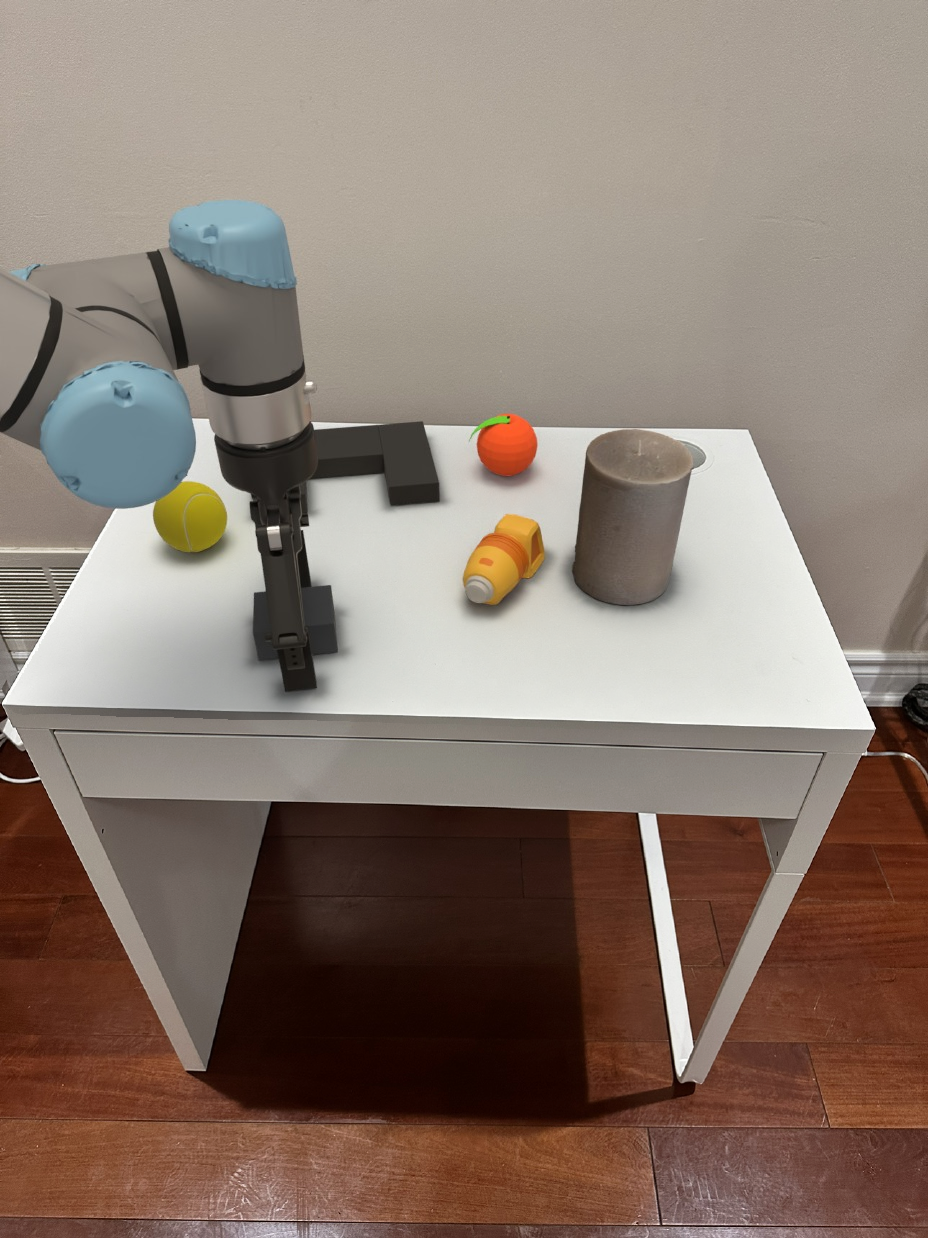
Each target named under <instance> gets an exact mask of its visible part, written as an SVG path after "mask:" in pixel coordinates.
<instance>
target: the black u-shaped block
mask: <svg viewBox="0 0 928 1238" xmlns="http://www.w3.org/2000/svg"><path fill="white" fill-rule="evenodd" d="M314 433H315V440H316V448H317V456H318V466H317V469H316V471H315V473H314V474H313V475H312V477H311V478H310V479H309V480H313V479H314V480H315V479H327V478H337V477H349V476H362V475H373V474H374V475H375V474H384V479H385V485H386V491H387V497H388V502H389V506H390V507H394V506H404V505H415V504H426V503H427V504H428V503H438V502H440V480H439V477H438V473H437V470H436V466H435V462H434V458H433V455H432V451H431V446H430V443H429V439H428V436H427V435H428V434H427V432H426V428H425V424H424V421H421V420H419V421H409V422H396V423H383V424H368V425H358V426H355V425H354V426H345V427H344V426H343V427H331V428H317V429H314ZM300 491H301V498H300V502H301V510H302V514H309V513H308V512H309V510H308V489H307V481H306V482H305V483H303V484H301V485H300Z"/></svg>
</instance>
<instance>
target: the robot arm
mask: <svg viewBox="0 0 928 1238" xmlns="http://www.w3.org/2000/svg"><path fill="white" fill-rule="evenodd" d="M168 233H169V238H168V240H167V242H168V247H162V248H157V249H156V250H152V251H146V252H137V253H132V254H131V253H130V254H123V255H122V254H121V255H115V256H107V257H100V258H99V257H98V258H91V259H84V260H76V261H69V262H62V263H61V262H60V263H53V264H45V263H34V264H30V265H29V266H27V267H25V268H20V269H16V270H11V271H8V270H6V269H4V268H2V267H1V266H0V434H3V435H5V436H7V437H9V438H11V439H13V440H15V441H17V442H21V443H23V444H25V445H27V446H30V447H32V448H34V449H35V450H39V451H41V454H42V455H43V456H44V457H45V460H46V463H47V465H48V466H49V468H50V469H51V471H52V473H53V474H54V475H55V477H56V478H57V480H58V481H59V482H60V484H62V485H63V486H64V487H65V488H66V489H67V490H68V491H70V493H72V494H73V495H74V496H76V497H77V498H78V499H80V500H83V501H84V502H86V503H88V504H92V505H94V506H98V507H101V508H106V509H117V510H128V509H135V508H140V507H144V506H147V505H150V504H153V503H155V502H156V501H157V500H160V499H161V498H163V497H165V496H166V495H168V494H169V493H170V492H172V491H173V490H174V489H175V488H176V487H177V486H178V485H179V484H180V483H181V482H183V480H184V479H185V478H186V477H188V474H189V470H190V469H191V467H192V464H193V463H194V459H195V455H196V451H197V433H196V430H195V426H194V425H195V424H194V421H193V418H192V412H191V405H190V404H191V403H190V401H189V398H188V395H187V392H186V391H185V389H184V387H183V385H182V384H181V383H180V381H179V380H178V378H177V375H176V373H175V371H177V370H183V369H188V368H189V367H193V366H198V368H199V375H200V384H201V388H202V394H203V397H204V398H203V399H204V403H205V408H206V412H207V417H208V422H209V427H210V429H211V431H212V432H213V434H214V437H213V440H214V441H213V442H214V446H215V450H216V454H217V459H218V463H219V468H220V473H221V476H222V478H223V479H224V481H225V482H226V483H227V484H228V485H229V486H230V487H232V488H234V489H235V490H238V491H241V492H246V493H248V494H250V496H251V497H250V498H251V501H249V513H250V518H251V521H252V522H253V523H254V528H255V530H254V533H255V537H256V545H257V551H258V553H259V554H260V559H261V560H260V561H261V566H262V567H261V568H262V575H263V581H264V588H265V591H266V596H267V604H268V611H269V618H270V625H271V633H272V634H264V636H265V641H266V642H269V641H271V644H272V646H273V649H274V650H277V653H278V658H279V659H278V663H279V668H280V674H281V679H282V682H283V688H284V692H286V693H287V692H294V691H301V690H302V691H303V690H310V689H317V688H318V683H317V682H318V681H317V675H316V670H315V663H314V657H313V656H314V655H312V650H311V644H310V638H309V632H308V626H307V625H306V626H305V621H304V612H303V603H302V594H301V588H304V587H313V586H312V579H311V572H310V567H309V565H310V564H309V559H308V553H307V547H306V546H307V545H306V539H305V532H304V529H301V528H305V527H310V519H309V513H306V514H302V510H301V502H300V498H301V491H300V485H301V484H303V483H305V482H306V483H307V482H308V480H311V479H310V478H311V477H312V475H313V474H314V473H315V471H316V469H317V466H318V456H317V448H316V440H315V433H314V430H315V427H314V424H313V423H312V421H311V419H312V409H311V401H310V396H309V395H312V394H315V393H316V392H317V391H318V385H317V383H316V382H315V380H314V379H308V380H307V372H306V363H305V355H304V348H303V340H302V329H301V323H300V314H299V306H298V305H299V304H298V296H297V285H298V281H297V277H296V276H295V272H294V271H295V270H294V267H293V262H292V257H291V251H290V246H289V241H288V236H287V235H288V234H287V230H286V226H285V223H284V221H283V219H282V217H281V216H280V215H279V214H277V213H276V212H275V211H274V210H273V209H272V208H271V207H269V206H267V205H265V204H262V203H259V202H256V201H252V200H245V199H219V200H218V199H217V200H210V201H209V200H208V201H204V202H200V204H198V205H197V204H196V205H190V206H185V207H183V208H180V209H179V210H178V211H177V212H175V213H174V214H173V215H172V216H171V218H170V220H169V223H168Z"/></svg>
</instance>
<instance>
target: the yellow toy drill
mask: <svg viewBox="0 0 928 1238" xmlns="http://www.w3.org/2000/svg"><path fill="white" fill-rule="evenodd" d="M545 560H546V552H545V546H544V540H543V535H542V530H541V527H540V523H539V522H537V521H535V520H534V519H532V518H528V517H525V516H522V515H517V514H512V513H505V515H503V517H501V518H500V520H499V521H498V522H497V524H496V525H495V527H494V531H493V532H491V533H488V534H486V535H484V536H483V537H482V538H481V540H480V541H479V543H478V544H477V545H476V547H475V548H474V549H473V551H472V552H471V553H470V555H469V557H468V560H467V562H466V565H465V568H464V571H463V574H462V575H463V576H462V583H463V587H464V589H465V595H466V597H467V598H468V599H469V600H470V601H471V602H473V603H476V604H486V605H490V606H492V605H493V606H495V605H496V606H497V605H498V604H499V603H500V602H501V601H502V600H503V599H504V598H505V597H506V595H507V594H509V593H510V592H511V591H513V590H514V589H515V587H516V586H517V585H518V584H519V582H520V581H521V580H522V579H530V578H532V577H533V576H534V575H535V574H536V572H537V571H538V570H539V568H540V566H541V565H542V564H543V563H544V561H545Z"/></svg>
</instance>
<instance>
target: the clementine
mask: <svg viewBox="0 0 928 1238" xmlns="http://www.w3.org/2000/svg"><path fill="white" fill-rule="evenodd" d="M478 431H479V432H478ZM476 433H478V436H477V440H476V449H477V451H476V452H477V456H478V458H479V460H480V462H481V463H482V465H483V466H484V467H485V468H486V469H487V470H488V471H490V472H491V473H493V474H496V475H498V476H502V477H512V476H515V475H519V474H520V473H523V472H524V471H526V469H528V468H529V467H530V466H531V464H532V463H533V461H534V460H535V458H536V455H537V451H538V438H537V434H536V432H535V429H534V428H533V427H532V425H531V424H530V423H529V422H528V421H527V420H526V419H525V418H522V417H521V416H520V415H518V414H517V415H516V414H513V413H501V414H499V415H496V416H494V417H491V418H488V419H487V420H485V421H483V422H481V423H480V424H479V425H478V426H477V427H476V428H475V429H474V430H473V431H472V433H471V434H470V437H469V439H468V442H470V441H471V439H472V437H473V436H474V435H475V434H476Z"/></svg>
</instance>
